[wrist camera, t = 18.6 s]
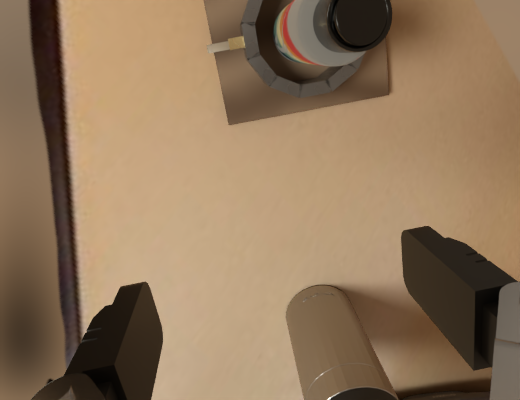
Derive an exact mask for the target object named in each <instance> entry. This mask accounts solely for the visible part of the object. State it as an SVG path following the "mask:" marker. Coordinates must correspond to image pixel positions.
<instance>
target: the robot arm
mask: <svg viewBox="0 0 520 400" xmlns="http://www.w3.org/2000/svg"><path fill="white" fill-rule="evenodd" d="M401 243H402V262H403V277H404V282H405V285H406V287H407V290H408V292H409V293H410V295H411V296H412V297H413V298H414V299H415V301H416V302H417V303H418V304H419V305H420V307H421V308H422V309H423V310H424V311H425V313H426V314H427V315H428V316H429V318H430V319H431V320H432V321H433V322H434V324H435V325H436V326H437V327H438V328H439V330H440V331H441V332H442V333H443V334H444V336H445V337H446V338H447V339H448V340H449V342H450V343H451V344H452V345H453V346H454V348H455V349H456V350H457V351H458V352H459V354H460V355H461V356H462V357H463V358H464V360H465V361H466V362H467V363H468V364H469V366H470V367H471V368H472V369H473V370H479V369H484V368H488V367H492V379H491V391H490V400H520V282H518V281H516V280H515V279H514V278H512V277H511V276H510V275H508V274H507V273H505V272H504V271H503V270H501V269H500V268H498V267H497V266H496V265H494V264H493V263H492V262H490V261H487V259H486V258H485V257H483V256H482V255H481V254H477V252H476V251H475V250H474V249H472V248H471V247H470V246H468V245H467V244H465V243H463V242H460V241H457V240H454V239H452V238H444V237H442V236H441V235H440V234H439V233H437V232H436V231H435V230H433V229H432V228H431V227H429V226H424V227H419V228H414V229H409V230H404V231H403V232H402V235H401ZM286 320H287V325H288V330H289V334H290V339H291V344H292V348H293V353H294V357H295V362H296V366H297V371H298V375H299V380H300V384H301V388H302V393H303V397H304V400H399V399H398V397H397V395H396V393H395V391H394V389H393V387H392V385H391V383H390V381H389V379H388V377H387V375H386V373H385V371H384V369H383V367H382V365H381V363H380V361H379V359H378V357H377V355H376V353H375V351H374V349H373V347H372V345H371V343H370V341H369V339H368V337H367V335H366V333H365V331H364V329H363V327H362V325H361V323H360V321H359V319H358V317H357V315H356V313H355V311H354V309H353V307H352V305H351V303H350V301H349V299H348V297H347V296H346V295H345V294H344V293H343V292H342V291H341V290H339V289H337V288H335V287H331V286H324V285H320V286H313V287H310V288H307V289H305V290H303V291H301V292H300V293H299V294H297V295H296V296H295V297H294V298H293V299H292V300H291V302H290V304H289V305H288V308H287V311H286ZM162 344H163V332H162V326H161V322H160V319H159V316H158V313H157V309H156V306H155V303H154V300H153V296H152V293H151V290H150V287H149V285H148V283H147V282H141V283H136V284H131V285H126V286H121V287H120V289H119V291H118V293H117V295H116V297H115V300H114V302H113V304H112V305H108V306H105V307H104V308H103V309H102V310H101V311H100V312H99V313H98V314H97V315H96V316H95V317H94V318H93V319H92V321H91V323H90V325H89V327H88V329H87V333H85V335H84V337H83V339H82V343H80V345H79V347H78V349H77V351H76V353H75V355H74V356H73V358H72V360H71V362H70V364H69V366H68V368H67V370H66V372H65V374H64V376H63V377H60V378H58V379H56V380H54V381H52V382H50V383H49V384H47V385H46V386H44V387H43V388H42V389H41V390H39V391H38V392H37V393H36V394H35V395H34V397H33V398H32V399H31V400H151V397H152V392H153V388H154V383H155V378H156V373H157V368H158V364H159V359H160V354H161V349H162Z"/></svg>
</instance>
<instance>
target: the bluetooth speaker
mask: <svg viewBox="0 0 520 400" xmlns="http://www.w3.org/2000/svg"><path fill="white" fill-rule="evenodd" d="M402 400H490V392H471V393H463V392H461V391H445V392H436V393H427V394H419V395H414V396H409V397H406V398H403V399H402Z"/></svg>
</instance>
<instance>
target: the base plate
mask: <svg viewBox="0 0 520 400" xmlns="http://www.w3.org/2000/svg"><path fill="white" fill-rule="evenodd" d="M247 1H248V0H204V5H205V10H206V15H207V20H208V25H209V30H210V34H211V39H212V44H210V45H207V50H208V53H213V52H214V54H215V59H216V64H217V69H218V74H219V79H220V84H221V89H222V94H223V99H224V104H225V109H226V113H227V118H228V123H229V125H232V124H238V123H243V122H248V121H254V120H259V119H264V118H269V117H275V116H280V115H285V114H291V113H296V112H301V111H306V110H312V109H317V108H322V107H328V106H333V105H338V104H343V103H349V102H354V101H359V100H365V99H370V98H375V97H380V96H386V95H389V89H388V70H387V50H386V37H385V38H384V39H383V40H382V42H381V43H379V44H378V45H377V46H376V47H374V48H372V49H370V50H367V51H366V52H365V54H364V57H363V59H362V62H361V64H360V66H359V69H356V70H357V71H356V72H355V73H354V74H353V75H351V76H350V77H349V78H348V79H347V80H345V81H344V82H343V83H342V84H341V85H340V86H338V87H337V88H336V89H335V90H334V91H331V92H330V93H325V94H319V95H314V96H309V97H303V98H300V97H299V98H298V97H295V96H292V95H290V94H287V93H284V92H282V91H279V90H276V89H274V88H271V87H269V86H268V85H267V84H265V83H264V82H263V81H262V79H261V78H260V77H259V76H258V74H257V73H256V72H255V71H254V69H253V68H252V67H251V66H250V64H249V63H248V62H247V60H246V59H247V58H245V54H244V48H240V49H234V50H230V49H229V43H228V39H230V38H235V37H240V36H241V31H240V26H241V25H240V23H241V20H242V17H243V14H244V11H245V7H246V4H247ZM292 1H294V0H263V1H262V4H261V7H260V10H259V13H258V16H257V19H256V22H255V29H256V35H257V41H258V47H259V53H260V55H261V56H262V57H263V59H264V60H265V61H266V63H267V64H268V65H269V66H270V68H271V69H272V70H273V72H274V73H275V74H276V75H277V76H280V77H282V78H285V79H287V80H290V81H293V82H296V81H301V80H306V79H312V78H317V77H318V76H319V75H320V74H322V73H323V72H324V71H325V70H326V69H327V68H329V67H330V66H322V65H313V64H305V63H298V62H293V61H290V60H288V59H286V58H285V57H284V56H283V55H281V53H280V52H279V51H278V49H277V48H276V46H275V43H274V39H273V28H274V24H275V21H276V18H277V17H278V15H279V13H280V12H281V11H282V10H283V9H284V8H285V7H286V6H287V5H289V4H290V3H291V2H292Z"/></svg>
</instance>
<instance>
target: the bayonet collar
mask: <svg viewBox="0 0 520 400" xmlns="http://www.w3.org/2000/svg"><path fill="white" fill-rule="evenodd" d="M262 1H263V0H248V1H247V4H246V7H245V11H244V14H243V17H242V20H241V23H240V25H241V26H240V31H241V36H240V37H235V38H230V39H228V43H229V49H230V50H234V49H240V48H244V54H245V58H247V59H246V60H247V62H248V63H249V64H250V66H251V67H252V68H253V69H254V71H255V72H256V73H257V74H258V76H259V77H260V78H261V79H262V81H263V82H264V83H265V84H267V85H268V86H269V87H271V88H274V89H276V90H279V91H282V92H284V93H287V94H290V95H292V96H295V97H298V98H299V97H300V98H303V97H309V96H314V95H319V94H325V93H330V92H331V91H334V90H335V89H336V88H337V87H338V86H340V85H341V84H342V83H343V82H344V81H345V80H347V79H348V78H349V77H350V76H351V75H353V74H354V73H355V72H356V71H357V70H356V69H359V66H360V64H361V62H362V59H363V57H364V54H365V53H364V54H363V55H362V56H361V57H360V58H358V59H357V60H355V61H353V62H352V63H349V64H347V65H343V66H330V67H329V68H327V69H326V70H325V71H324V72H323V73H322V74H320V75H319V76H318V77H317V78H312V79H306V80H301V81H296V82H293V81H290V80H287V79H285V78H282V77H280V76H277V75H276V74H275V73H274V72H273V70H272V69H271V68H270V66H269V65H268V64H267V63H266V61H265V60H264V59H263V57H262V56H261V55H260V53H259V47H258V41H257V35H256V29H255V22H256V19H257V16H258V13H259V10H260V7H261V4H262Z"/></svg>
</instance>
